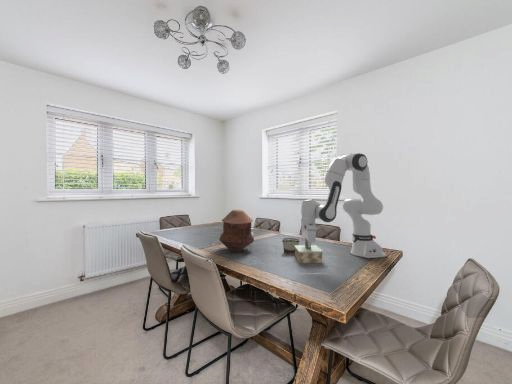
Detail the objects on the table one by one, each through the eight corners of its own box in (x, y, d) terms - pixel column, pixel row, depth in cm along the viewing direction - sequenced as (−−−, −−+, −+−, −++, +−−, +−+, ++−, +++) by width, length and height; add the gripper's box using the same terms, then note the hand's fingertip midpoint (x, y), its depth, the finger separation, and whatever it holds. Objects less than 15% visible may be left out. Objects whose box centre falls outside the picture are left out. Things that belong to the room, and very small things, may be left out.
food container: (298, 251, 170) (298, 237, 170) (299, 253, 164) (299, 239, 164) (281, 251, 171) (281, 237, 171) (281, 253, 165) (282, 239, 165)
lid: (316, 246, 157) (316, 239, 157) (323, 252, 142) (323, 244, 142) (294, 246, 157) (294, 239, 157) (299, 252, 142) (299, 244, 142)
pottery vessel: (222, 245, 187) (222, 208, 186) (254, 246, 186) (254, 208, 185) (216, 255, 161) (215, 211, 160) (252, 255, 160) (252, 212, 159)
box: (315, 256, 157) (315, 246, 157) (322, 263, 143) (322, 252, 143) (294, 257, 156) (295, 246, 156) (299, 263, 142) (299, 252, 142)
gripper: (299, 222, 159) (299, 242, 160) (307, 227, 139) (307, 250, 139) (308, 222, 160) (308, 242, 160) (317, 227, 139) (317, 250, 140)
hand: (308, 246), depth 149 cm, fingers closed on lid, 3 cm apart
